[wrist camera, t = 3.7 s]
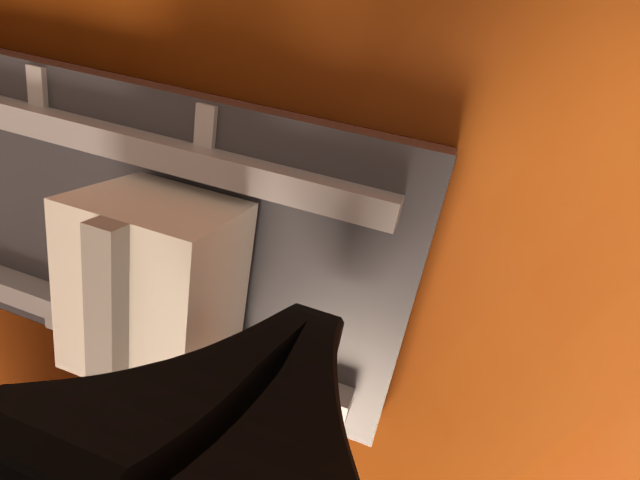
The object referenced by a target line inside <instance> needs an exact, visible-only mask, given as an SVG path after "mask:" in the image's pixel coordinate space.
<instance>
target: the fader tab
mask: <svg viewBox="0 0 640 480" xmlns="http://www.w3.org/2000/svg"><path fill="white" fill-rule="evenodd" d="M258 204H259V203H255V202H251V201H248V200H244V199H240V198H237V197H233V196H229V195H225V194H222V193H218V192H214V191H211V190H207V189H203V188H200V187H196V186H192V185H188V184H185V183H181V182H177V181H174V180H170V179H166V178H163V177H159V176H155V175H151V174H148V173H144V172H137V173H133V174H130V175H126V176H122V177H119V178H115V179H111V180H108V181H104V182H100V183H97V184H93V185H90V186H86V187H82V188H79V189H75V190H71V191H68V192H64V193H60V194H57V195H53V196H50V197H46V198H44V209H45V223H46V238H47V252H48V267H49V281H50V296H51V310H52V325H53V339H54V354H55V367H57V368H60V369H62V370H65V371H67V372H70V373H72V374H75V375H78V376H80V377H85V376H91V375H98V374H104V373H109V372H115V371H120V370H125V369H130V368H134V367H138V366H142V365H146V364H150V363H154V362H159V361H163V360H167V359H170V358H173V357H177V356H180V355H183V354H186V353H189V352H192V351H195V350H198V349H201V348H203V347H206V346H209V345H211V344H214V343H216V342H218V341H221V340H223V339H225V338H227V337H230V336H232V335H234V334H237V333H239V332H241V331H242V330H243V322H244V315H245V307H246V299H247V291H248V283H249V275H250V267H251V259H252V251H253V243H254V235H255V227H256V220H257V212H258Z"/></svg>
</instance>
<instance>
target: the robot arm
mask: <svg viewBox="0 0 640 480" xmlns="http://www.w3.org/2000/svg"><path fill="white" fill-rule="evenodd" d="M343 327H344V321H343V319H342V318H341V317H339V316H336V315H333V314H330V313H326V312H323V311H320V310H317V309H314V308H311V307H308V306H304V305H301V304H298V303H295V304H293V305H291V306H289V307H287V308H285V309H283V310H282V311H280V312H278V313H276V314H274V315H272V316H270V317H269V318H267V319H265V320H263V321H261V322H259V323H257V324H255V325H253V326H251V327H249V328H247V329H245V330H243V331H241V332H239V333H237V334H234V335H232V336H230V337H227V338H225V339H223V340H221V341H218V342H216V343H214V344H211V345H209V346H206V347H203V348H201V349H198V350H195V351H192V352H189V353H186V354H183V355H180V356H177V357H173V358H170V359H167V360H163V361H159V362H154V363H150V364H146V365H142V366H138V367H134V368H130V369H125V370H120V371H115V372H109V373H104V374H98V375H91V376H85V377H78V378H70V379H62V380H51V381H40V382H29V383H18V384H2V385H1V386H0V480H360V479H359V475H358V472H357V469H356V466H355V463H354V459H353V456H352V453H351V450H350V446H349V443H348V438H347V434H346V430H345V426H344V421H343V415H342V410H341V404H340V396H339V386H338V373H337V353H338V348H339V344H340V340H341V335H342V331H343Z"/></svg>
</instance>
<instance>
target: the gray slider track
mask: <svg viewBox="0 0 640 480" xmlns="http://www.w3.org/2000/svg"><path fill="white" fill-rule="evenodd" d="M456 157H457V148H455V147H450V146H445V145H441V144H436V143H432V142H427V141H423V140H418V139H413V138H409V137H404V136H400V135H395V134H391V133H386V132H382V131H377V130H372V129H368V128H363V127H359V126H354V125H350V124H345V123H340V122H336V121H331V120H327V119H322V118H318V117H313V116H308V115H304V114H299V113H295V112H290V111H286V110H281V109H277V108H272V107H267V106H263V105H258V104H254V103H249V102H245V101H240V100H235V99H231V98H226V97H222V96H217V95H213V94H208V93H203V92H199V91H194V90H190V89H185V88H181V87H176V86H172V85H167V84H162V83H158V82H153V81H149V80H144V79H140V78H135V77H130V76H126V75H121V74H117V73H112V72H108V71H103V70H99V69H94V68H89V67H85V66H80V65H76V64H71V63H67V62H62V61H57V60H53V59H48V58H44V57H39V56H35V55H30V54H25V53H21V52H16V51H12V50H7V49H3V48H0V309H3V310H6V311H8V312H11V313H14V314H16V315H19V316H22V317H24V318H27V319H30V320H32V321H35V322H38V323H40V324H43V325H45V327H46V328H48V329H51V330H53V325H52V310H51V296H50V281H49V267H48V252H47V238H46V223H45V209H44V198H46V197H50V196H53V195H57V194H60V193H64V192H68V191H71V190H75V189H79V188H82V187H86V186H90V185H93V184H97V183H100V182H104V181H108V180H111V179H115V178H119V177H122V176H126V175H130V174H133V173H137V172H144V173H148V174H151V175H155V176H159V177H163V178H166V179H170V180H174V181H177V182H181V183H185V184H188V185H192V186H196V187H200V188H203V189H207V190H211V191H214V192H218V193H222V194H225V195H229V196H233V197H237V198H240V199H244V200H248V201H251V202H255V203H259V204H258V212H257V220H256V227H255V235H254V243H253V251H252V259H251V267H250V275H249V283H248V291H247V299H246V307H245V315H244V322H243V330H245V329H247V328H249V327H251V326H253V325H255V324H257V323H259V322H261V321H263V320H265V319H267V318H269V317H270V316H272V315H274V314H276V313H278V312H280V311H282V310H283V309H285V308H287V307H289V306H291V305H293V304H295V303H298V304H301V305H304V306H308V307H311V308H314V309H317V310H320V311H323V312H326V313H330V314H333V315H336V316H339V317H341V318H342V319H343V321H344V327H343V331H342V335H341V340H340V344H339V348H338V353H337V373H338V386H339V396H340V404H341V410H342V415H343V421H344V426H345V430H346V434H347V438H348V439H351V440H354V441H356V442H359V443H362V444H364V445H367V446H370V447H371V446H372V442H373V439H374V436H375V432H376V429H377V425H378V422H379V419H380V415H381V412H382V408H383V405H384V402H385V398H386V395H387V391H388V388H389V385H390V381H391V378H392V374H393V371H394V368H395V364H396V361H397V357H398V354H399V351H400V347H401V344H402V340H403V337H404V334H405V330H406V327H407V323H408V320H409V317H410V313H411V310H412V306H413V303H414V300H415V296H416V293H417V289H418V286H419V283H420V279H421V276H422V272H423V269H424V266H425V262H426V259H427V255H428V252H429V249H430V245H431V242H432V238H433V235H434V232H435V228H436V225H437V221H438V218H439V215H440V211H441V208H442V204H443V201H444V198H445V194H446V191H447V187H448V184H449V181H450V177H451V174H452V170H453V167H454V164H455V160H456ZM243 330H242V331H243Z"/></svg>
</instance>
